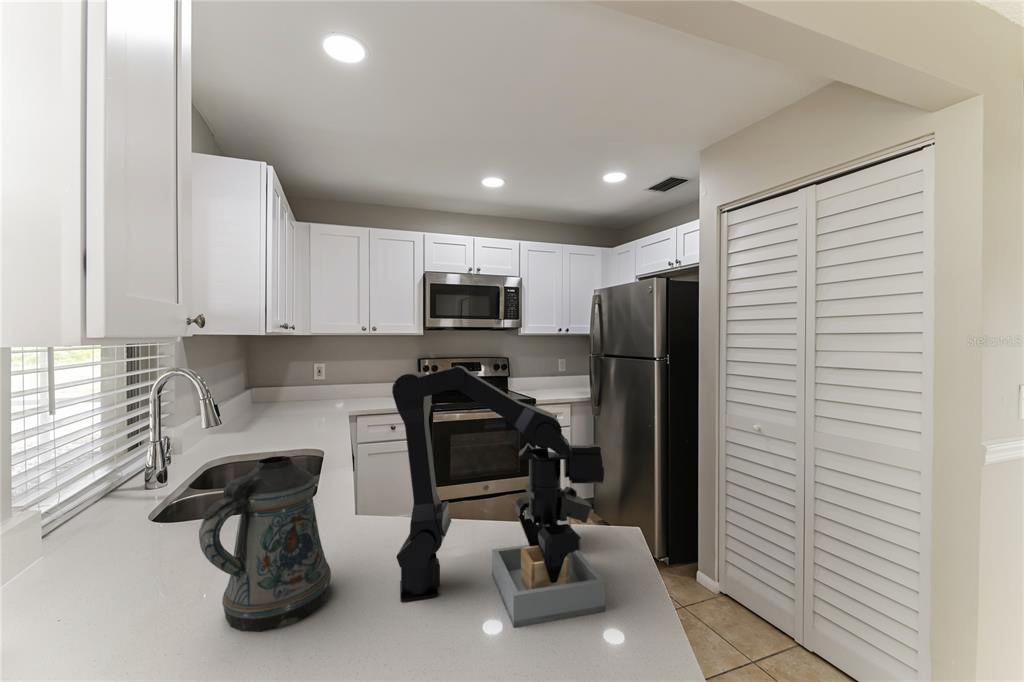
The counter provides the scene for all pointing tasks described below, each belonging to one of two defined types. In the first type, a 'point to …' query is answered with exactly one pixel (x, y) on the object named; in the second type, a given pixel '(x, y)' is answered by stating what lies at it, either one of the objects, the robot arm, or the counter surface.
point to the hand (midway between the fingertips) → (544, 568)
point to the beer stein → (269, 547)
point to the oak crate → (539, 570)
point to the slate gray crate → (547, 590)
